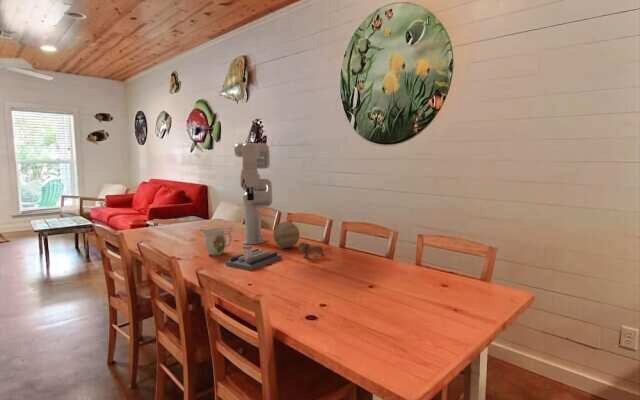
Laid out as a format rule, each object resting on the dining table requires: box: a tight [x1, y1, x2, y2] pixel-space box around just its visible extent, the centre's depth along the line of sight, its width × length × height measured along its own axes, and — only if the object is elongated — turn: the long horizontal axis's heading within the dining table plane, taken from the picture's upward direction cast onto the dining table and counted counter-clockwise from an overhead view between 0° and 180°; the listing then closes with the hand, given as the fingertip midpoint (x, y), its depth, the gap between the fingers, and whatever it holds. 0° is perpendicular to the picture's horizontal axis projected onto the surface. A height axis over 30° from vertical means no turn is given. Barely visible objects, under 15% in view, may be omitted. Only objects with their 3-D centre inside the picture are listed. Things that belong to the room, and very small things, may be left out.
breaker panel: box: [225, 248, 283, 271], centre depth 193 cm, size 24×16×4 cm, turn 149°
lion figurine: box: [298, 241, 326, 260], centre depth 200 cm, size 15×5×9 cm, turn 111°
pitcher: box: [201, 227, 233, 256], centre depth 208 cm, size 11×18×14 cm, turn 136°
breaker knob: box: [242, 244, 253, 260], centre depth 188 cm, size 3×3×7 cm
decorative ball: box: [273, 221, 300, 249], centre depth 221 cm, size 15×15×15 cm
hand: (250, 200), depth 209 cm, fingers closed
